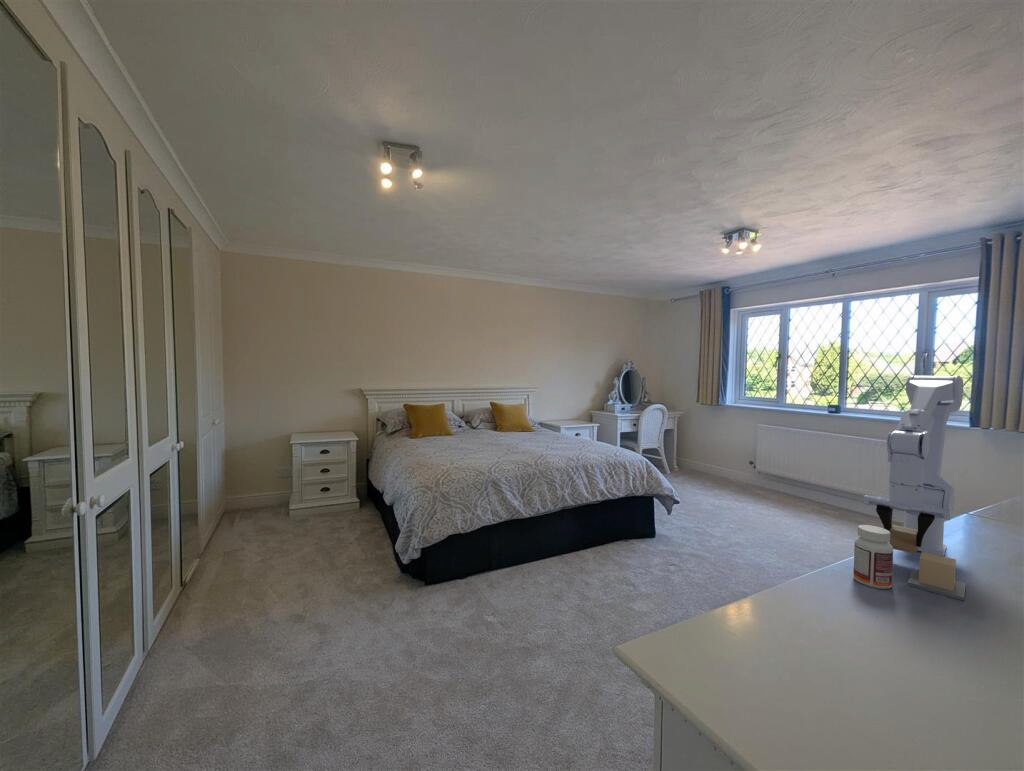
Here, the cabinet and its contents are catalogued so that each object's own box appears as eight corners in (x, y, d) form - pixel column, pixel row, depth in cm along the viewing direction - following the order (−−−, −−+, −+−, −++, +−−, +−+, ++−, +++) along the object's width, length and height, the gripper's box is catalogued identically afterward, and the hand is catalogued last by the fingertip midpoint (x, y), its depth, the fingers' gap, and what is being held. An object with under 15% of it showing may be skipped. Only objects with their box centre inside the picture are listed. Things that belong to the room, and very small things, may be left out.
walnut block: (892, 543, 100) (892, 524, 100) (917, 549, 97) (918, 530, 97) (889, 547, 98) (889, 529, 97) (915, 554, 94) (916, 534, 94)
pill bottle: (893, 583, 88) (895, 529, 88) (890, 593, 84) (892, 537, 84) (855, 572, 93) (857, 521, 92) (850, 582, 88) (852, 528, 88)
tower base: (912, 571, 94) (913, 546, 93) (965, 585, 88) (966, 559, 87) (907, 584, 88) (908, 558, 87) (963, 600, 82) (965, 572, 81)
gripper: (861, 479, 100) (859, 537, 100) (950, 493, 89) (947, 557, 89) (867, 475, 104) (865, 529, 105) (952, 487, 93) (949, 548, 94)
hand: (903, 542), depth 97 cm, fingers closed on walnut block, 4 cm apart
